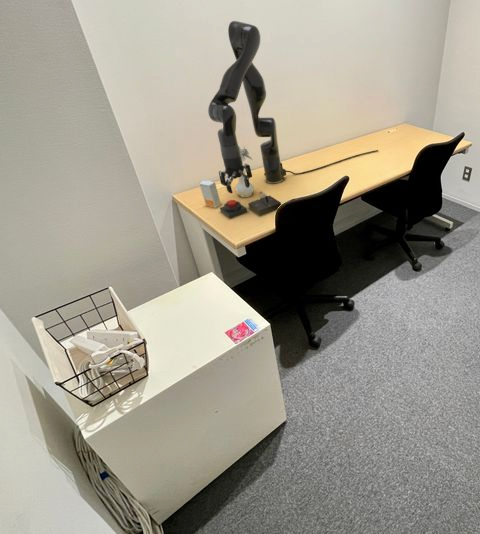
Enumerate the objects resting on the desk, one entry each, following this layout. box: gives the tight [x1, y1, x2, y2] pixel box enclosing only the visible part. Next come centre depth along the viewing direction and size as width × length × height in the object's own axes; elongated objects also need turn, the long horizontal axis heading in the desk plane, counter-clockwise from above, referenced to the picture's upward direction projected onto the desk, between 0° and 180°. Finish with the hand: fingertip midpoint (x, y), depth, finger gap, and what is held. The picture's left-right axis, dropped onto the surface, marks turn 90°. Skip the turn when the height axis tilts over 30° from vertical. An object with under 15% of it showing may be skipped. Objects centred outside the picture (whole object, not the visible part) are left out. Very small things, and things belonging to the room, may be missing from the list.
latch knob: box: [258, 191, 269, 205], centre depth 156 cm, size 6×2×5 cm, turn 44°
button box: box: [219, 200, 248, 220], centre depth 155 cm, size 9×9×4 cm
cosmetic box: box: [198, 179, 222, 209], centre depth 158 cm, size 6×4×12 cm
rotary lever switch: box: [247, 195, 282, 217], centre depth 159 cm, size 12×10×3 cm
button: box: [226, 199, 237, 207], centre depth 154 cm, size 4×4×2 cm
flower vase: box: [221, 146, 255, 198], centre depth 163 cm, size 13×18×25 cm
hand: (239, 189), depth 150 cm, fingers open, 8 cm apart
